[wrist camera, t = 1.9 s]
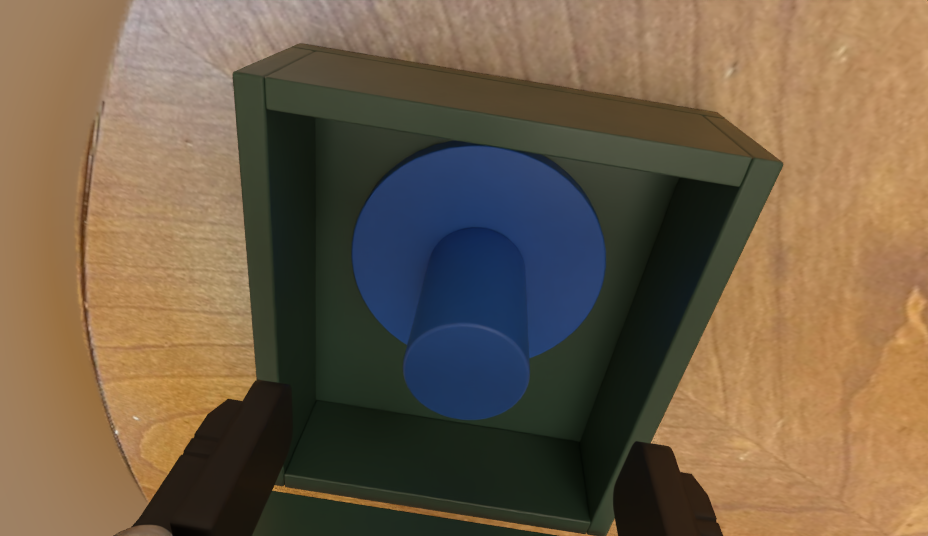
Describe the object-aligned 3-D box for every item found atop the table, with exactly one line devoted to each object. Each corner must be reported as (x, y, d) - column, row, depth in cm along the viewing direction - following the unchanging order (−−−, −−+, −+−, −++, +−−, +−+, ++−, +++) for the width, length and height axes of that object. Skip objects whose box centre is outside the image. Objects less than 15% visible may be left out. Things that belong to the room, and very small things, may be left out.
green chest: (298, 42, 17) (230, 71, 13) (719, 112, 17) (786, 162, 13) (304, 396, 25) (263, 484, 21) (590, 442, 25) (606, 538, 21)
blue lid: (314, 182, 18) (232, 277, 13) (570, 101, 16) (601, 173, 11) (409, 372, 23) (378, 505, 17) (623, 327, 21) (664, 460, 15)
